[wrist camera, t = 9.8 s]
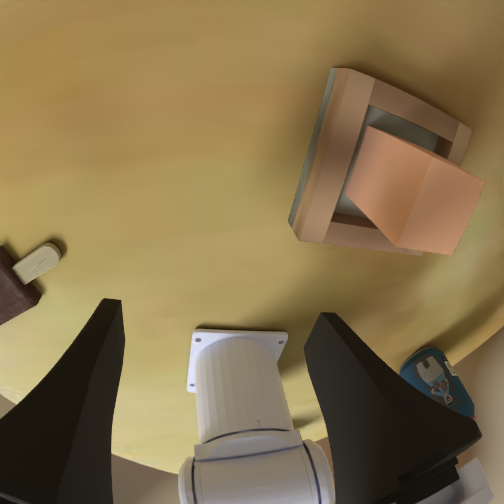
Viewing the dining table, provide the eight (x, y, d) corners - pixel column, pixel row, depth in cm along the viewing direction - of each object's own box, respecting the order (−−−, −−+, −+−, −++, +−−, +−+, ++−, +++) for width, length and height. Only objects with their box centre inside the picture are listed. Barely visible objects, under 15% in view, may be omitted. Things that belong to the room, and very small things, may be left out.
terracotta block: (398, 206, 19) (451, 255, 14) (344, 194, 18) (395, 246, 13) (421, 146, 17) (485, 182, 12) (367, 125, 16) (432, 156, 11)
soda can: (410, 378, 37) (443, 444, 27) (385, 374, 34) (422, 451, 24) (445, 347, 34) (485, 413, 24) (425, 338, 31) (471, 416, 22)
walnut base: (404, 238, 22) (420, 256, 20) (287, 220, 20) (298, 241, 17) (449, 120, 17) (472, 130, 15) (330, 67, 14) (350, 68, 12)
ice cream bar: (40, 214, 17) (-44, 286, 18) (30, 225, 15) (-51, 297, 16) (82, 271, 20) (-11, 324, 21) (76, 285, 18) (-17, 335, 19)
